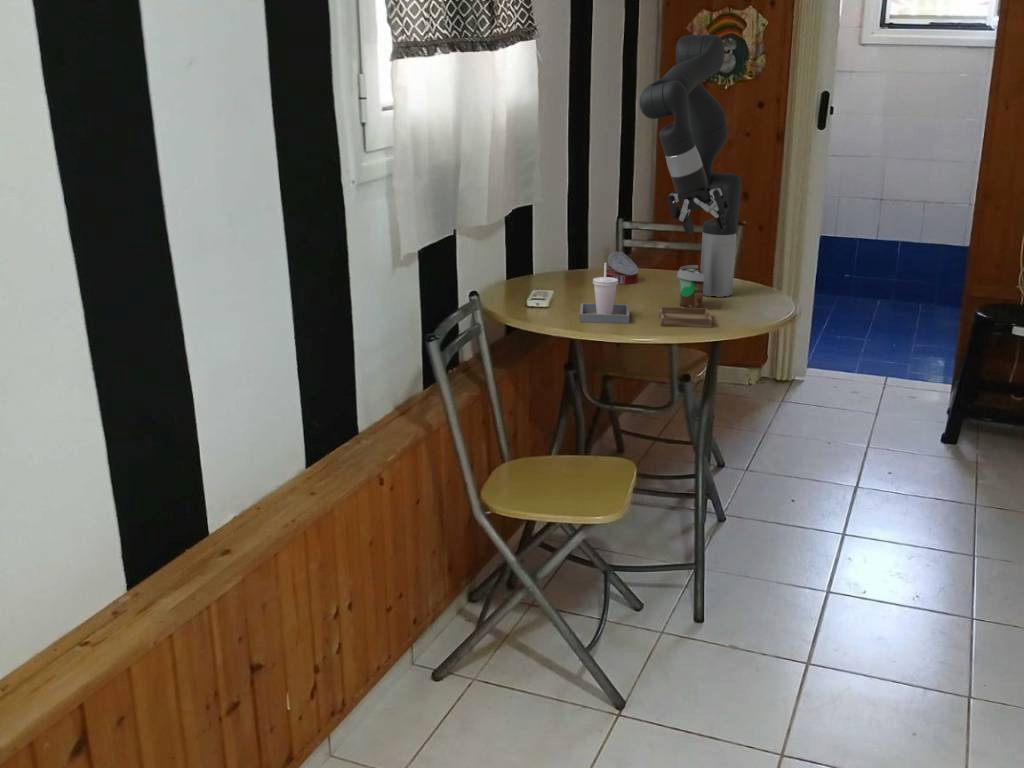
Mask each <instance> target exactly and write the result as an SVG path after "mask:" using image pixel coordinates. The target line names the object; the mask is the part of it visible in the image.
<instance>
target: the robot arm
mask: <svg viewBox="0 0 1024 768" xmlns="http://www.w3.org/2000/svg"><path fill="white" fill-rule="evenodd" d="M675 59H676V64H675V65H674V66H672V67H671V68H670V69H669V70H668V71H667V72H666V73H665V74H664V76H662V77H661V78H659V79H657V80H655V81H654V82H652V83H651V84H649V85H648V86H646V87H645V88H644V89H643V91H642V92H641V94H640V98H639V108H640V111H641V112H642V114H643V115H644V116H645V117H646V118H648V119H652V120H656V119H661V118H664V117H665V118H666V117H669V116H671V115H673V116H674V120H673V122H671V123H669V124H667V125H665V126H664V127H662V128H661V129H660V130H659V133H658V136H659V141H660V143H661V146H662V149H663V153H664V155H665V160H666V165H667V168H668V172H669V175H670V178H671V181H672V184H673V186H674V187H673V188H674V190H675V191H672V192H671V193H670V194H669V195H668V196H667V197H666V201H667V203H668V207H669V212H670V214H671V215H670V216H671V218H672V219H673V220H679V221H680V222H681V224H682V227H683V230H684V231H685V233H686V234H687V235H692V234H693V233H694V232H695V228H694V225H693V222H692V220H691V217H690V216H689V215H690V213H691V212H694V211H696V210H698V211H703V210H704V211H705V212H706V213H709V214H711V215H712V216H713V217H714V218H711V219H708V220H705V221H704V222H703V223H702V237H701V250H700V251H701V257H700V268H699V269H700V270H699V271H701V273H704V284H703V296H705V297H711V296H716V297H715V298H718V297H719V298H723V297H724V296H726V297H730V295H731V296H733V289H734V277H735V264H736V263H735V260H736V248H737V247H736V246H737V231H738V224H739V223H738V222H739V215H740V213H739V212H740V205H741V204H740V203H741V197H742V178H741V177H740V175H739V174H737V173H728V172H727V173H726V172H725V173H724V172H714V170H713V164H714V161H715V160H716V158H717V156H718V154H719V153H720V151H722V149H723V147H724V145H725V143H726V141H727V138H728V127H727V126H728V125H727V119H726V118H727V117H726V113H725V110H724V109H723V107H722V105H721V104H720V102H719V101H718V100H717V99H716V98H715V97H714V96H713V95H712V94H711V93H710V92H709V91H708V90H707V89H706V87H705V86H704V85H703V83H702V82H704V81H706V80H707V79H709V78H711V77H712V76H714V75H715V74H717V73H719V71H720V70H721V69H722V67H723V64H724V61H725V44H724V41H723V39H722V38H721V36H719V35H717V34H693V35H692V34H690V35H684V36H681V37H680V38H679V39H678V41H677V42H676V46H675ZM679 202H680V203H681V204H682V208H681V207H680V206H681V205H680V203H679Z"/></svg>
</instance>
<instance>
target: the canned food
mask: <svg viewBox="0 0 1024 768" xmlns="http://www.w3.org/2000/svg"><path fill="white" fill-rule="evenodd" d="M607 264H608V266H609V267H611V269H610V268H609V269H606V277H611V278H616V279H618V284H617V286H619V285H621V286H624V285H629V286H630V285H634V284H637V283H638V282H639V268H638V266H637V264H636V263H635V262H634V261H633V260H632V259H631V258H630V257H629V256H628V255H627V254H625V253H624V252H623V251H617V250H616V251H612V252H610V254H609V255H608V256H607Z"/></svg>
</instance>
